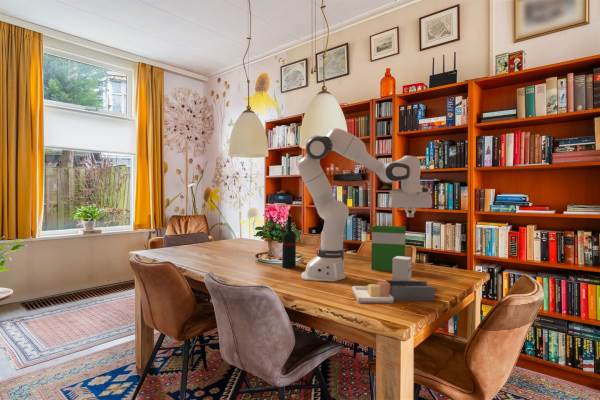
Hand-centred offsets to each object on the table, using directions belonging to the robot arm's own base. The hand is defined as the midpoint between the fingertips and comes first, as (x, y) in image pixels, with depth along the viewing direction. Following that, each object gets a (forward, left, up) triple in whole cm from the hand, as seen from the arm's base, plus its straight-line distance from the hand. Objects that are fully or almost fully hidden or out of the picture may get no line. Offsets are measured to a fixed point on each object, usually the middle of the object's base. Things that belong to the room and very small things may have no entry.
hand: (410, 216), depth 166 cm
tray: (-24, -27, -31) cm, 48 cm away
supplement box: (-6, -8, -31) cm, 33 cm away
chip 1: (-21, -27, -28) cm, 45 cm away
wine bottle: (-60, +26, -31) cm, 72 cm away
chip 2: (-19, -28, -29) cm, 45 cm away
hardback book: (-5, +21, -31) cm, 38 cm away
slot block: (-9, -27, -31) cm, 42 cm away
